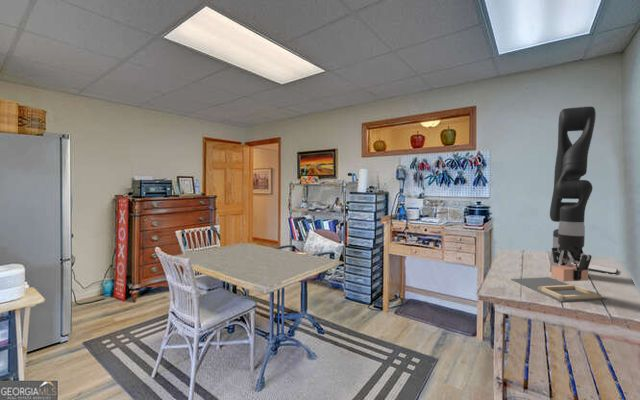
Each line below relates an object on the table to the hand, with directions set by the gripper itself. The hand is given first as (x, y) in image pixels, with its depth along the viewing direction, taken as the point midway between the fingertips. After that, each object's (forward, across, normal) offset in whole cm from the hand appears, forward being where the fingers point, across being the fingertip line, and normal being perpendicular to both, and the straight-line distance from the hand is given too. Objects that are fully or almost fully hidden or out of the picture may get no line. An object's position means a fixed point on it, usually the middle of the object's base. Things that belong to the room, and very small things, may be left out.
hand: (569, 277), depth 111 cm
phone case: (+7, +27, -41) cm, 49 cm away
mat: (+6, +6, 0) cm, 9 cm away
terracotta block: (0, 0, 0) cm, 0 cm away
